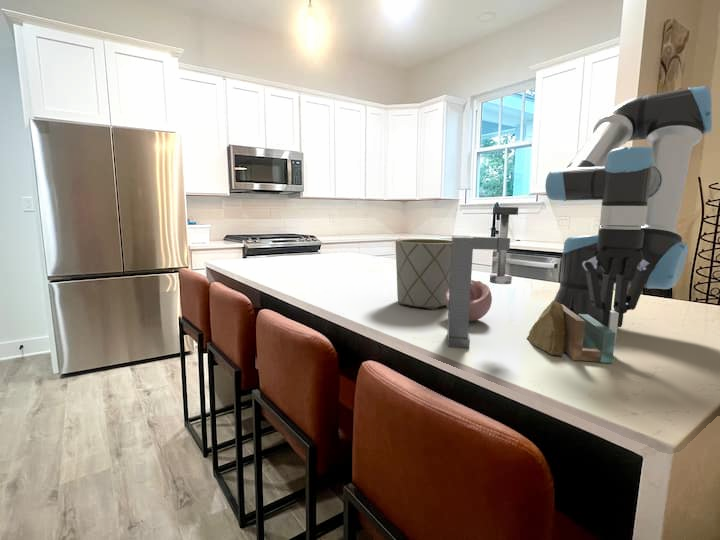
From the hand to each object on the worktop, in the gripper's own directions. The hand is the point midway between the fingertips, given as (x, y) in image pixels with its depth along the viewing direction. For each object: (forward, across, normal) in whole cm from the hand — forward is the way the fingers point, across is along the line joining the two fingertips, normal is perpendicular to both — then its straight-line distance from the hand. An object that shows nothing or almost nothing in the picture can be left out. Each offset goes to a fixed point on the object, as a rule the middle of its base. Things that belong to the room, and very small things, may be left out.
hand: (608, 341), depth 80 cm
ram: (-11, +22, 0) cm, 25 cm away
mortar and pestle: (+3, +27, -18) cm, 33 cm away
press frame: (+2, +27, 0) cm, 27 cm away
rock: (+3, +12, 0) cm, 12 cm away
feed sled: (+2, +5, 0) cm, 6 cm away
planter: (+3, +39, -36) cm, 53 cm away
